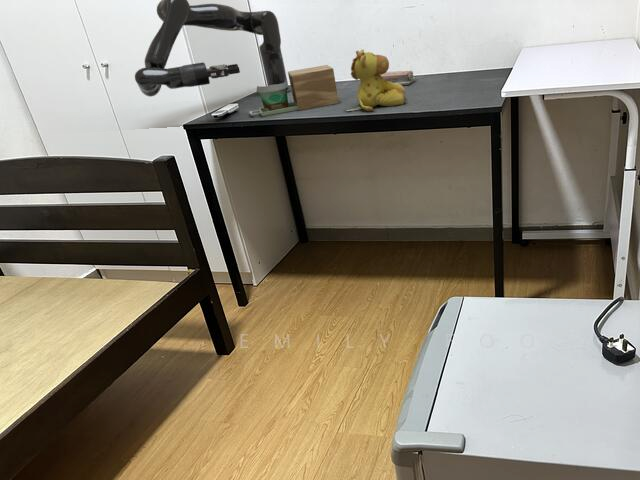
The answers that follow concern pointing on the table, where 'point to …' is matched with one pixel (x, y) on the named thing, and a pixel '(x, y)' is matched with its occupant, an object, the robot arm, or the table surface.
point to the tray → (275, 110)
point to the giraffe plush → (375, 82)
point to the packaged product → (399, 77)
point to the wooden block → (313, 87)
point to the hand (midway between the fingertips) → (238, 68)
